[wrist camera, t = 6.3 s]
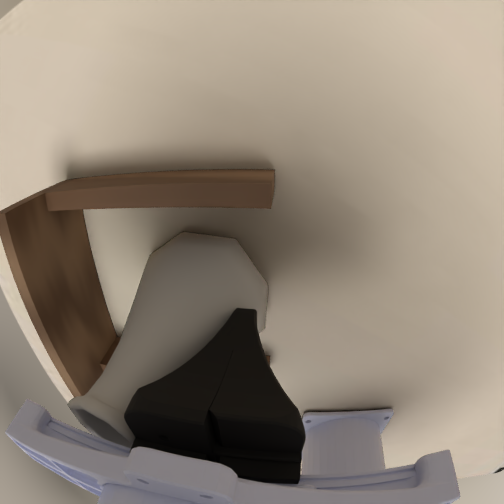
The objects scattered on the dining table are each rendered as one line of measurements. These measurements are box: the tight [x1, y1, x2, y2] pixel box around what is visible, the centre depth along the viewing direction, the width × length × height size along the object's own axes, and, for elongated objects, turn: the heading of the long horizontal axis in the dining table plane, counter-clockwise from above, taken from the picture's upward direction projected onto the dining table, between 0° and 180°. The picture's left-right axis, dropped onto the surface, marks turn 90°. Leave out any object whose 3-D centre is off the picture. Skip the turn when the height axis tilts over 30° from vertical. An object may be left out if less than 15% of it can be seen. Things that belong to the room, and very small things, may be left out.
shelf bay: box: [0, 169, 275, 397], centre depth 14 cm, size 13×12×6 cm
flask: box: [67, 232, 268, 448], centre depth 12 cm, size 7×7×10 cm
